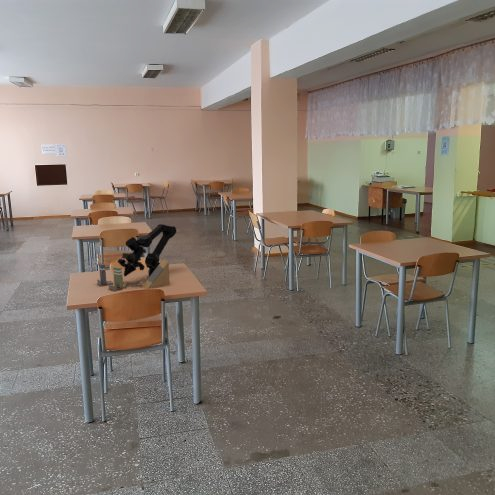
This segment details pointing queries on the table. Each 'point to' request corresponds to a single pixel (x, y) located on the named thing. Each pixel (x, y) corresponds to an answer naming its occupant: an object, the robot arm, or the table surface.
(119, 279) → the green striped block
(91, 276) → the table surface
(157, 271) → the sandwich container
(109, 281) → the key rack
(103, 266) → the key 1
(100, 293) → the table surface
